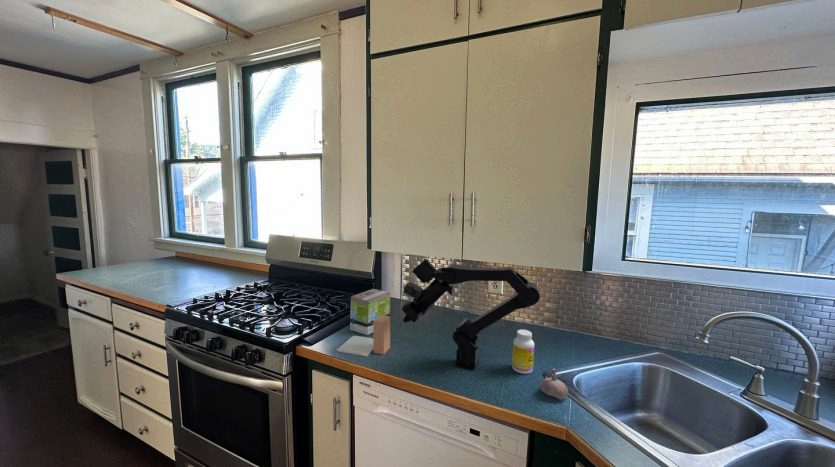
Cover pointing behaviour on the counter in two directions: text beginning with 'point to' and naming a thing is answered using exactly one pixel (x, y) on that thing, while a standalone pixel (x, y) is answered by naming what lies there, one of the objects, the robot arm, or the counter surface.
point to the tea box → (368, 309)
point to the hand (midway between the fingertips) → (404, 321)
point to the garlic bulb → (554, 387)
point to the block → (381, 334)
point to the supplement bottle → (523, 352)
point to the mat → (357, 346)
